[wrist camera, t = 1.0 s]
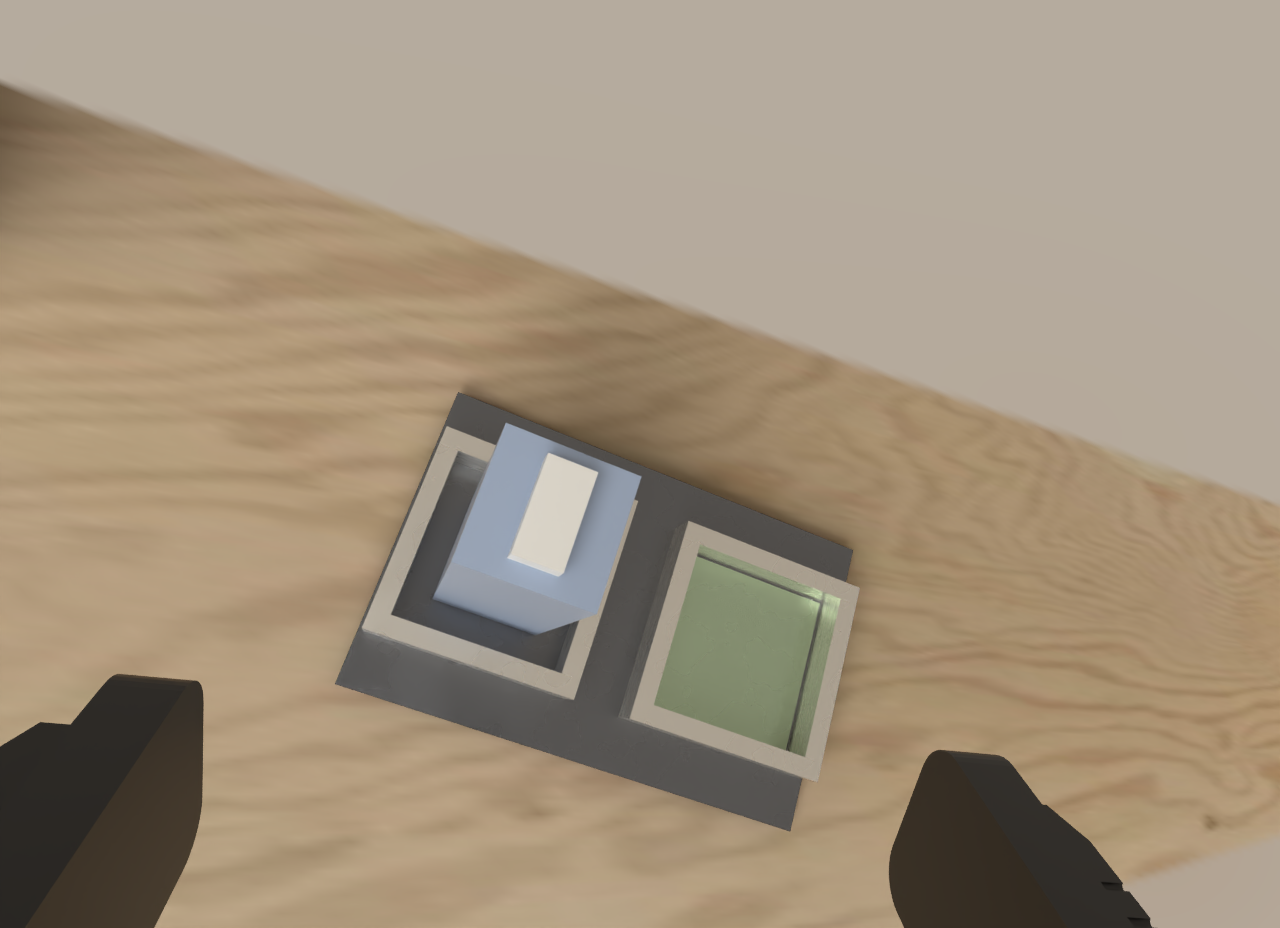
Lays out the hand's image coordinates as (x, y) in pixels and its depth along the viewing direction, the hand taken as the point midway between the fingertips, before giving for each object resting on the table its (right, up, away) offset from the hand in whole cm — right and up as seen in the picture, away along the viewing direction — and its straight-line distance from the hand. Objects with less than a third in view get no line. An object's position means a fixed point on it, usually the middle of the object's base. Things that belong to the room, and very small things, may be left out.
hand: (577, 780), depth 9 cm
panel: (0, -3, +27) cm, 27 cm away
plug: (-5, -1, +26) cm, 26 cm away
